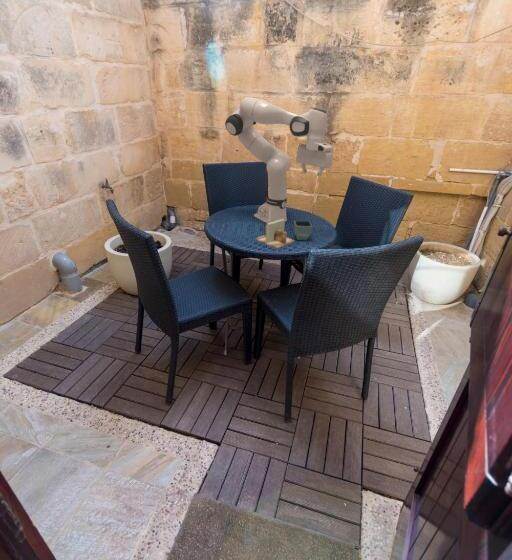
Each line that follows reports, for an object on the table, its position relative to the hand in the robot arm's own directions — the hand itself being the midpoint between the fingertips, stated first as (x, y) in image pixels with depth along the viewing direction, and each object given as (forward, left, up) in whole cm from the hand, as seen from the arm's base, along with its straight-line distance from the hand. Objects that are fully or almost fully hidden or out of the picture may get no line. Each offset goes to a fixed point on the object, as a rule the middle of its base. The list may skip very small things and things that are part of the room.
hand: (311, 174), depth 164 cm
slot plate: (-6, -18, -33) cm, 38 cm away
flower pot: (+1, -4, -34) cm, 35 cm away
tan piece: (-6, -18, -34) cm, 39 cm away
